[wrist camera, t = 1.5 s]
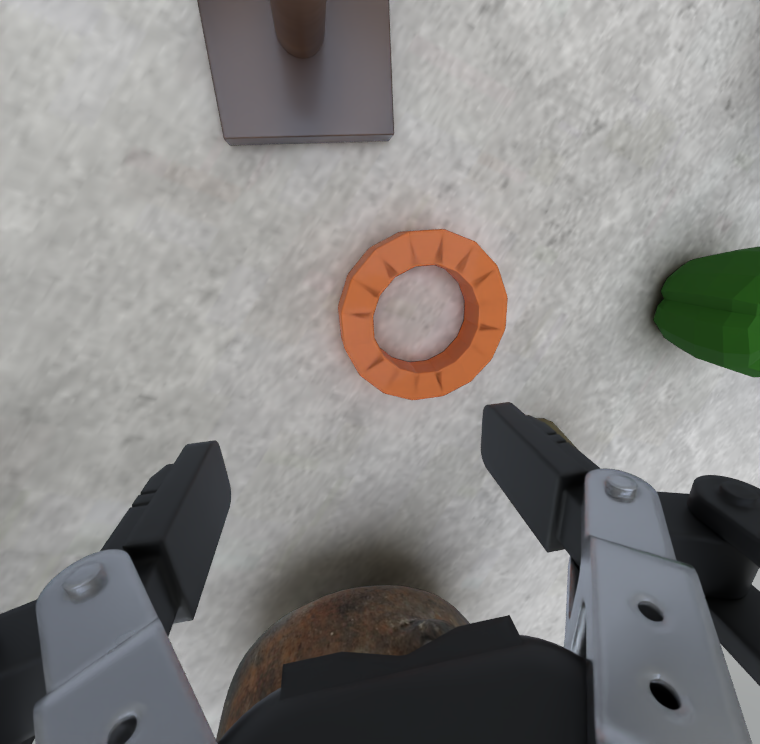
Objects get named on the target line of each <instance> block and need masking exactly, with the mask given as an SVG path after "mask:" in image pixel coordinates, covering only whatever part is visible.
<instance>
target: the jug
mask: <svg viewBox="0 0 760 744" xmlns="http://www.w3.org/2000/svg"><path fill="white" fill-rule="evenodd" d="M467 624H470V623H469V622H468V621H467V620H466V618H465V617H464V616H463V615H462V614H461V613H460V612H459V611H458V610H457V609H456V608H455V607H454V606H452V605H451V604H449V603H448V602H447V601H445V600H443V599H442V598H440V597H439V596H436V595H434V594H432V593H429V592H426V591H423V590H420V589H415V588H410V587H405V586H395V585H384V586H366V587H357V588H352V589H346V590H341V591H338V592H335V593H332V594H329V595H326V596H323V597H321V598H319V599H317V600H315V601H313V602H310V603H308V604H306V605H304V606H302V607H300V608H298V609H296V610H294V611H292V612H291V613H289V614H287V615H285V616H284V617H282V618H281V619H280V620H279V621H277V622H276V623H275V624H273V625H272V626H271V627H270V628H269V629H268V630H267V631H266V632H265V633H264V634H263V635H262V636H261V637H260V638H259V639H258V640H257V641H256V642H255V643H254V644H253V645H252V647H251V648H250V649H249V650H248V652H247V653H246V654H245V656H244V658H243V659H242V661H241V662H240V664H239V666H238V668H237V670H236V673H235V675H234V677H233V679H232V682H231V685H230V687H229V690H228V693H227V696H226V700H225V703H224V707H223V711H222V716H221V720H220V724H219V729H218V733H217V738H216V741H217V743H218V742H219V740H220V739H221V738H222V737H223V735H224V734H225V733H226V732H227V731H228V730H229V729H230V728H231V727H232V726H233V724H234V723H235V722H236V721H237V720H238V719H239V718H240V717H241V716H242V715H243V714H245V713H246V712H247V711H248V710H249V709H250V708H252V707H253V706H254V705H255V704H256V703H258V702H259V701H261V700H262V699H263V698H265V697H266V696H268V695H269V694H271V693H272V692H274V691H276V690H277V689H279V688H281V680H282V668H283V664H286V663H291V662H296V661H300V660H305V659H309V658H314V657H319V656H323V655H328V654H333V653H337V652H342V651H343V652H356V653H369V654H383V655H396V656H402V655H407V654H409V653H411V652H413V651H414V650H416V649H418V648H420V647H422V646H423V645H425V644H427V643H429V642H431V641H432V640H434V639H436V638H438V637H439V636H441V635H443V634H445V633H447V632H448V631H450V630H452V629H454V628H456V627H457V626H462V625H467Z"/></svg>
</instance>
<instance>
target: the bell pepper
mask: <svg viewBox="0 0 760 744" xmlns="http://www.w3.org/2000/svg"><path fill="white" fill-rule="evenodd" d="M661 293H662V295H663V297H664V299H663V300H662V302H661V303H660V304H659V305H658V306H657V309H656V313H655V316H654V319H653V320H654V322H655V323H656V325H657V327H658V328H659V330H660V331H661V333H662V335H663V337H664V338H666V339H667V340H668V341H670V342H671V343H673V344H674V345H675V346H677V347H679V348H680V349H682V350H684V351H685V352H687V353H689V354H691V355H692V356H694V357H696V358H698V359H701V360H704V361H707V362H710V363H713V364H716V365H718V366H721V367H724V368H727V369H730V370H733V371H736V372H739V373H742V374H745V375H748V376H751V377H760V247H754V248H747V249H741V250H735V251H730V252H725V253H720V254H715V255H711V256H706V257H702V258H698V259H693V260H690V261H689V262H687V263H686V264H684V265H682V266H681V267H680V268H679V269H677V270H676V271H675V272H674V273H673V274H672V275H670V276H669V277H668V278H667V280H666V282H665V284H664V286H663V288H662V290H661Z"/></svg>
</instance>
